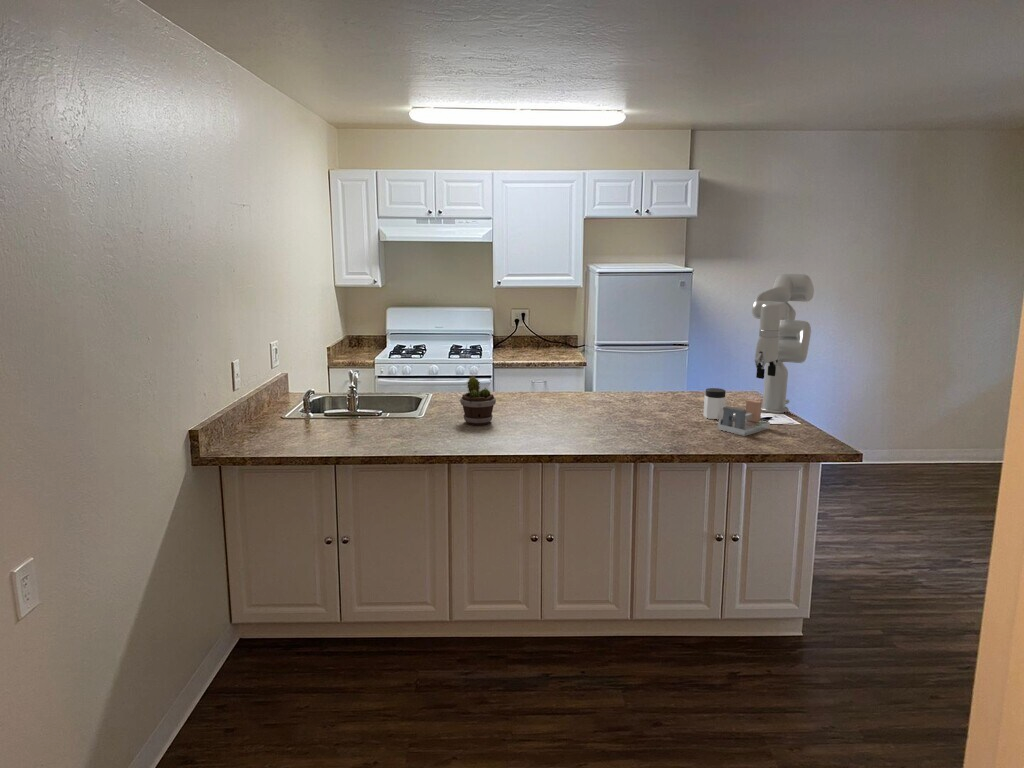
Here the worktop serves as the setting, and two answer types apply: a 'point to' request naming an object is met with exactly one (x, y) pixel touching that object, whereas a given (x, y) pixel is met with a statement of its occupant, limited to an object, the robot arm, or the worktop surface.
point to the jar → (714, 403)
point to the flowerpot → (477, 404)
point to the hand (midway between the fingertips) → (765, 376)
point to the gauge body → (740, 422)
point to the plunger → (753, 411)
